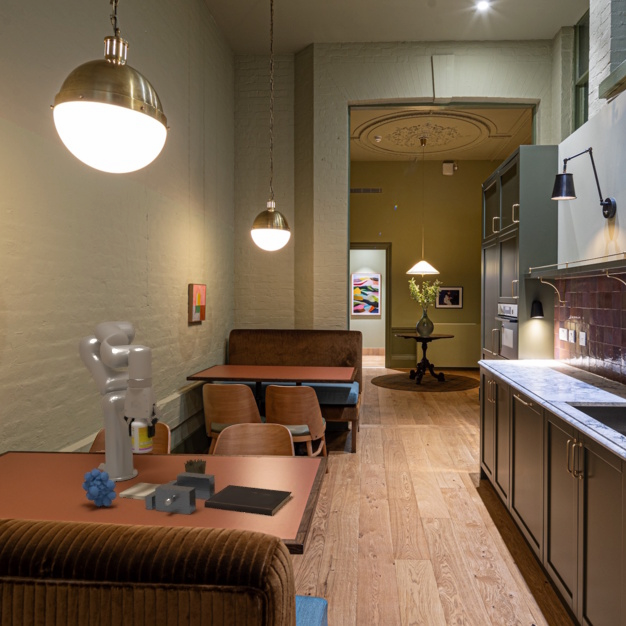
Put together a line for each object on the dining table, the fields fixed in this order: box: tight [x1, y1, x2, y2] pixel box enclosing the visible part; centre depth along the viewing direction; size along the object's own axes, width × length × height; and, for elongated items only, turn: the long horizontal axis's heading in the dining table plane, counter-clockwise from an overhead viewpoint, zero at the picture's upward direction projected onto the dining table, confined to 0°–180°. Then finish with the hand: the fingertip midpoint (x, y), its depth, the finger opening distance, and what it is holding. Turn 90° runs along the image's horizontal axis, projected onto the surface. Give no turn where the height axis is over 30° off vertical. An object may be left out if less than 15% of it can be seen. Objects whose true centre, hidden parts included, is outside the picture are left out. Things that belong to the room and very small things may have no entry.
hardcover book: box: [204, 484, 293, 517], centre depth 170 cm, size 16×23×2 cm
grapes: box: [82, 468, 117, 508], centre depth 167 cm, size 12×7×12 cm, turn 78°
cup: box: [184, 458, 207, 474], centre depth 187 cm, size 8×7×8 cm
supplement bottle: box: [131, 418, 154, 454], centre depth 179 cm, size 7×7×13 cm
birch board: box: [118, 481, 160, 501], centre depth 180 cm, size 11×11×1 cm
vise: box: [144, 471, 216, 515], centre depth 169 cm, size 16×19×7 cm
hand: (142, 435), depth 179 cm, fingers closed on supplement bottle, 6 cm apart
